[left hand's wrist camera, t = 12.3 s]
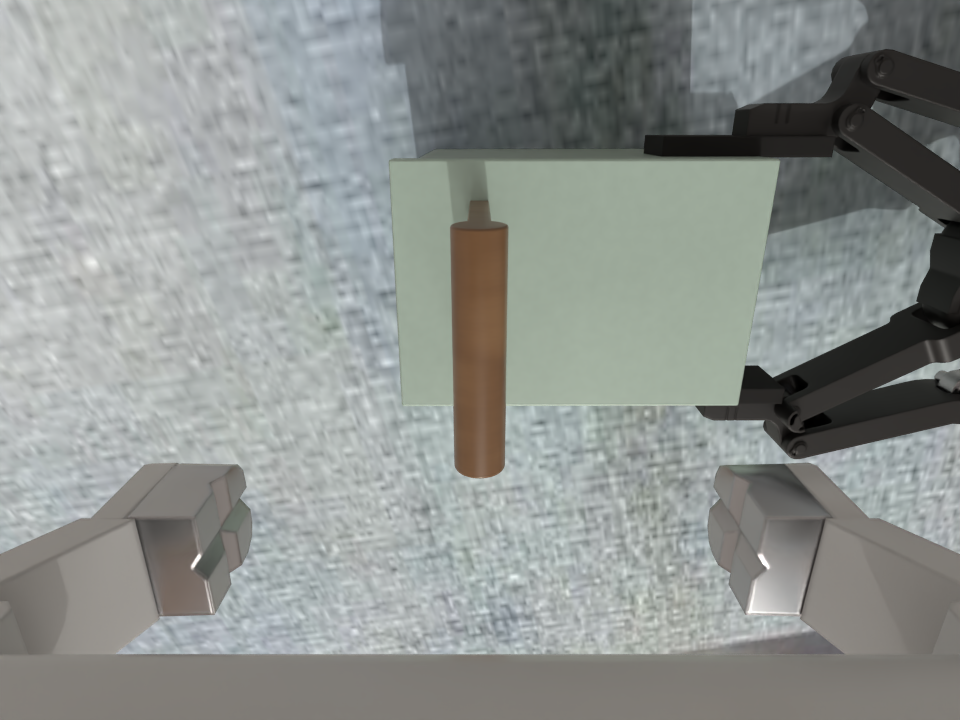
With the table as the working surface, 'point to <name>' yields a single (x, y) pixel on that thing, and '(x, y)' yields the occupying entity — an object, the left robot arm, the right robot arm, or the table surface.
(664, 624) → the table surface
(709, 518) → the left robot arm
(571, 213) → the lid
